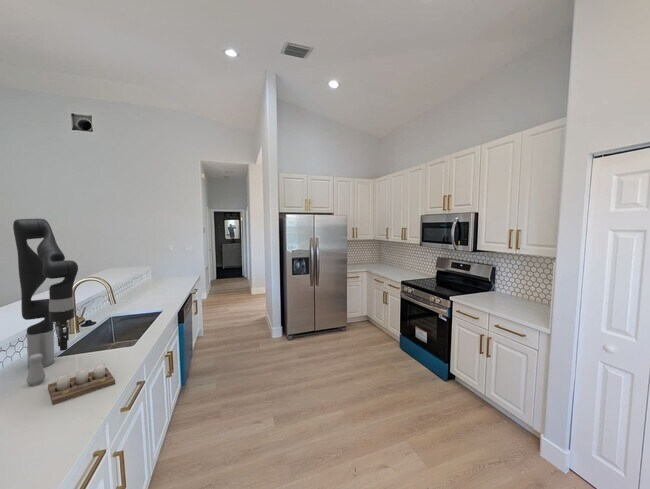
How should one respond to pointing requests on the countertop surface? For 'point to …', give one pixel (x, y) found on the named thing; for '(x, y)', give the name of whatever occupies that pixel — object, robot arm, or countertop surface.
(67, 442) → the countertop surface
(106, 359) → the countertop surface
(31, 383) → the salt shaker
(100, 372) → the button
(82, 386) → the board
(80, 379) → the button
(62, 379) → the white domed cylinder
